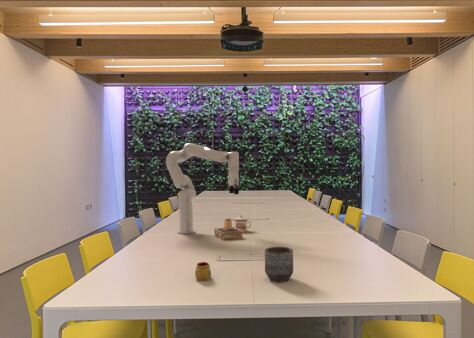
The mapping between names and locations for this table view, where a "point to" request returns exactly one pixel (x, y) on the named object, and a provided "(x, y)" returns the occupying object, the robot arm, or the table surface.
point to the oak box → (228, 233)
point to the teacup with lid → (241, 223)
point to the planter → (279, 263)
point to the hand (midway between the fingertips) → (234, 193)
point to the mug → (203, 271)
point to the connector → (227, 224)
